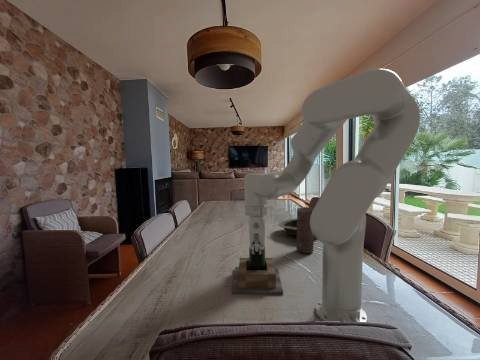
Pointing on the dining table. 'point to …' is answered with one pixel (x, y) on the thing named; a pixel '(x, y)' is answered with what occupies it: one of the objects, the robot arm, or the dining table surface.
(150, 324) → the dining table surface
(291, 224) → the stone bowl
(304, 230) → the brown cylinder
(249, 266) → the beer can
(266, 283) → the well block
